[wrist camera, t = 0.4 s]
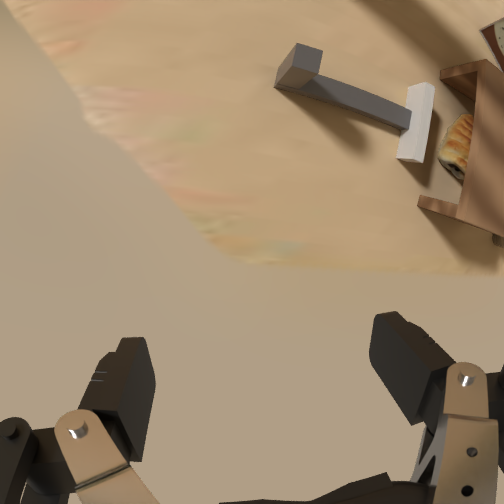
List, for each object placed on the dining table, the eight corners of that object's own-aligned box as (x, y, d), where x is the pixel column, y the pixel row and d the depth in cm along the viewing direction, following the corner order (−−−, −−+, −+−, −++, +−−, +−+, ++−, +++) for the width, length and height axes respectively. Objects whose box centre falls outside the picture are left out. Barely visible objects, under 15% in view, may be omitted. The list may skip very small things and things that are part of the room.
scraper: (284, 40, 30) (304, 10, 22) (417, 91, 33) (459, 81, 25) (266, 118, 33) (282, 105, 24) (405, 161, 36) (448, 165, 27)
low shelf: (440, 70, 32) (485, 58, 23) (485, 100, 34) (529, 96, 25) (417, 205, 37) (463, 220, 28) (464, 223, 39) (509, 239, 30)
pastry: (452, 104, 34) (469, 102, 30) (479, 131, 36) (496, 131, 32) (431, 158, 36) (449, 160, 32) (460, 183, 38) (478, 187, 34)
